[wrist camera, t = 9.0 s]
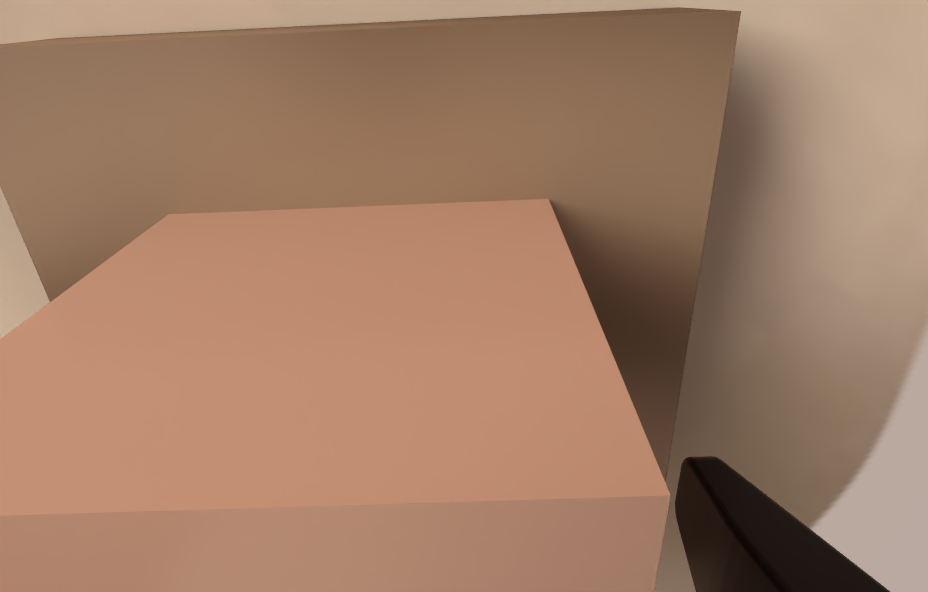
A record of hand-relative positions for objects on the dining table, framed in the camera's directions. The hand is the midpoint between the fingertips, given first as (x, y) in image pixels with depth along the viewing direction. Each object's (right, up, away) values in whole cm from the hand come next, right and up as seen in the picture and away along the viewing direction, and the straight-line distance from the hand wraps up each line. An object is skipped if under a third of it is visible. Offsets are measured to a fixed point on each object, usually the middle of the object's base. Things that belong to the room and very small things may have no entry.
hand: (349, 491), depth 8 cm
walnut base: (0, +3, +5) cm, 6 cm away
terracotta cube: (0, +1, +3) cm, 3 cm away
